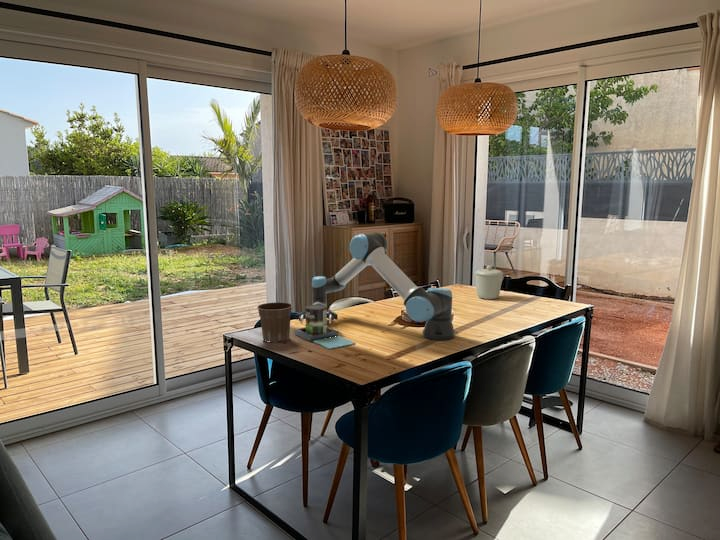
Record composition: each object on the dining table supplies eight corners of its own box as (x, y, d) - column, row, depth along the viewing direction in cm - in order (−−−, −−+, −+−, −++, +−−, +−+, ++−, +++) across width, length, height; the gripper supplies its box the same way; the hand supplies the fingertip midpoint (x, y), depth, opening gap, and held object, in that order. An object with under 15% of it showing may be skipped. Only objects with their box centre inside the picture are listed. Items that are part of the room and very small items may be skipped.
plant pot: (253, 343, 246) (252, 309, 243) (264, 334, 262) (263, 301, 259) (288, 345, 244) (287, 310, 241) (297, 335, 259) (296, 302, 257)
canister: (473, 294, 355) (474, 263, 352) (501, 295, 352) (502, 263, 349) (474, 300, 338) (475, 267, 334) (503, 301, 335) (505, 267, 331)
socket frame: (321, 329, 270) (321, 324, 269) (338, 336, 257) (338, 331, 257) (294, 334, 261) (294, 329, 261) (310, 341, 249) (310, 336, 248)
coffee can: (315, 339, 252) (314, 310, 250) (301, 335, 259) (300, 306, 257) (331, 335, 259) (331, 306, 257) (317, 331, 266) (317, 303, 264)
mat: (338, 337, 256) (338, 336, 256) (355, 344, 245) (355, 342, 245) (313, 342, 248) (313, 340, 248) (329, 349, 237) (329, 348, 237)
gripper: (342, 317, 277) (342, 328, 256) (294, 317, 276) (289, 328, 255) (342, 303, 275) (342, 312, 254) (293, 303, 275) (289, 313, 254)
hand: (315, 320), depth 255 cm, fingers open, 13 cm apart
